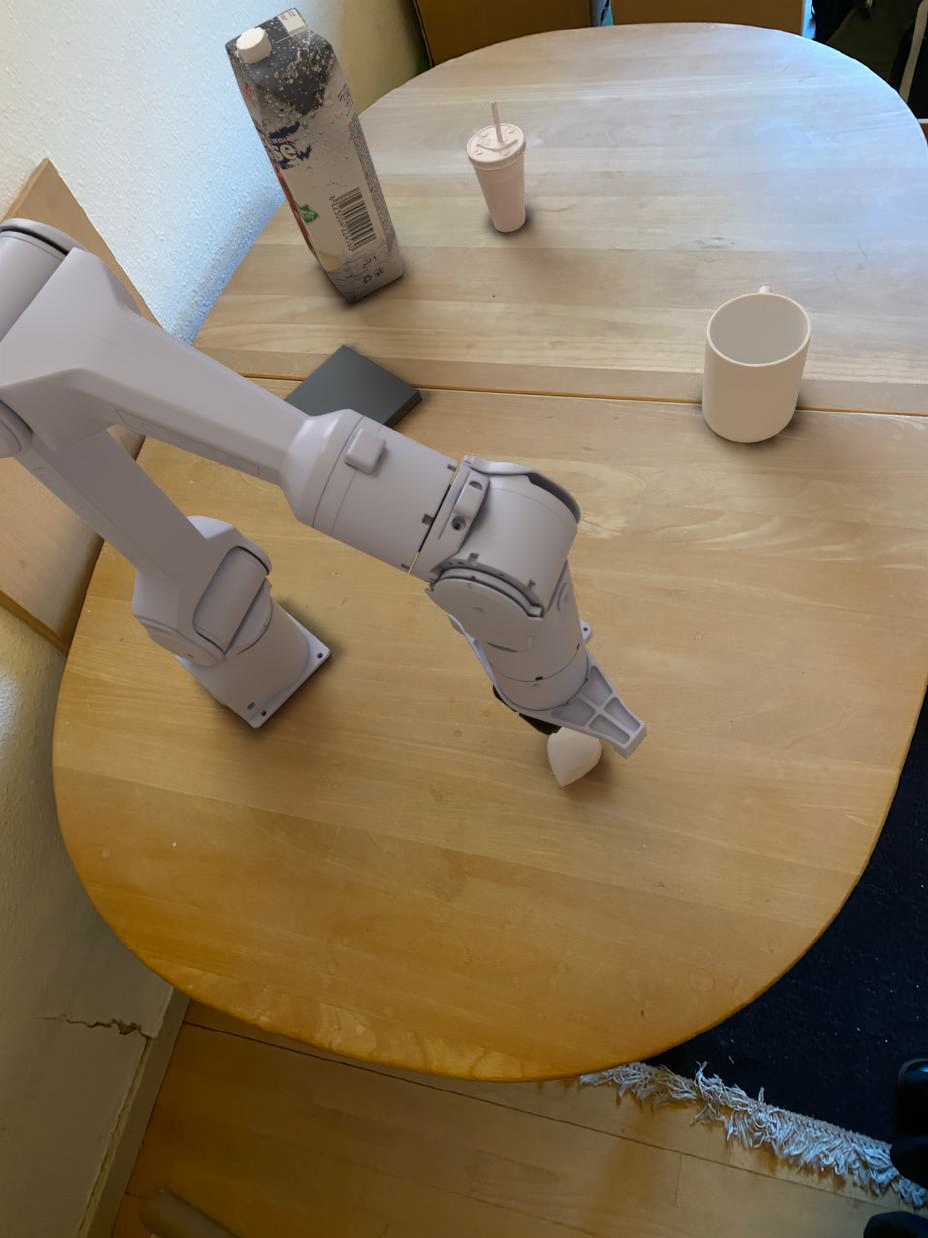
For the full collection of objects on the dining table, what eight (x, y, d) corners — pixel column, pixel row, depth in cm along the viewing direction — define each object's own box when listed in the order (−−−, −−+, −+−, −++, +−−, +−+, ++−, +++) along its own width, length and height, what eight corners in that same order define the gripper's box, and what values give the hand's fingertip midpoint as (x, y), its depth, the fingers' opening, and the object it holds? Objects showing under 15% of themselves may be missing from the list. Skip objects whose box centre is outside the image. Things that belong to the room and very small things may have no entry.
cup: (694, 441, 77) (699, 363, 69) (713, 344, 82) (720, 259, 73) (789, 449, 75) (806, 369, 66) (803, 348, 80) (821, 261, 71)
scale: (327, 495, 84) (316, 477, 81) (253, 440, 89) (241, 421, 87) (425, 400, 87) (418, 380, 84) (347, 353, 92) (338, 332, 90)
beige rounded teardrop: (608, 740, 66) (607, 729, 64) (589, 799, 65) (586, 790, 62) (557, 724, 68) (554, 713, 66) (537, 781, 66) (532, 772, 64)
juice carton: (377, 230, 101) (291, -19, 77) (414, 276, 96) (335, 25, 72) (312, 265, 100) (207, 25, 77) (347, 314, 95) (245, 73, 72)
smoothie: (532, 239, 94) (513, 119, 82) (477, 241, 96) (451, 124, 84) (541, 200, 97) (523, 78, 85) (487, 203, 99) (463, 84, 86)
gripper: (680, 655, 45) (676, 737, 57) (484, 524, 51) (518, 622, 63) (597, 753, 43) (611, 816, 55) (406, 605, 50) (455, 690, 62)
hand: (557, 718), depth 59 cm, fingers closed
